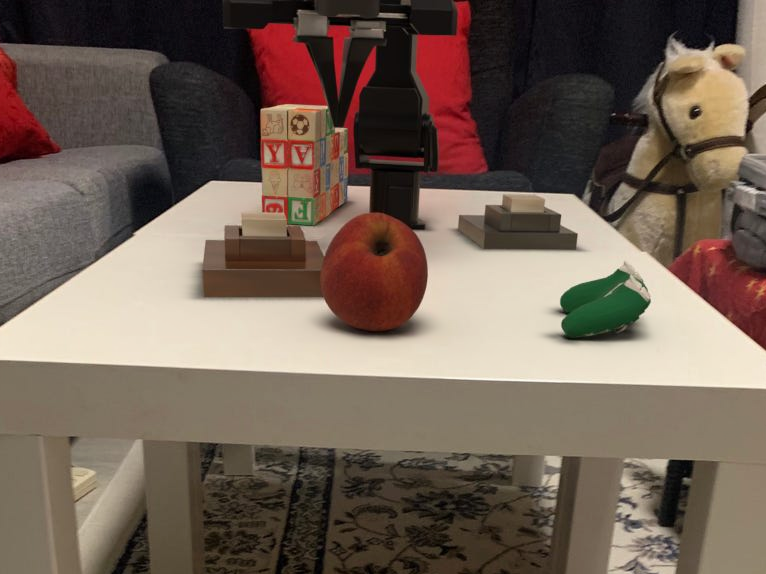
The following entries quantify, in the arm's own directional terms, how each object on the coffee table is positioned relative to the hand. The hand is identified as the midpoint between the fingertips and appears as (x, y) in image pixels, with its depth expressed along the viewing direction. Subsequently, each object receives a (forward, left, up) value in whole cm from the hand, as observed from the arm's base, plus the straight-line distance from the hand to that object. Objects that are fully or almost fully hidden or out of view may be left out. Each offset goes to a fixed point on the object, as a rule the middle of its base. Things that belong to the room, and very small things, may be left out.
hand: (338, 127), depth 80 cm
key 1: (+5, -7, -8) cm, 12 cm away
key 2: (-14, +21, -9) cm, 27 cm away
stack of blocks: (-35, 0, -12) cm, 37 cm away
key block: (+5, -7, -12) cm, 15 cm away
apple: (+21, 0, -12) cm, 24 cm away
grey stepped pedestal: (-16, +21, -12) cm, 29 cm away
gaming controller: (+21, +17, -12) cm, 30 cm away
